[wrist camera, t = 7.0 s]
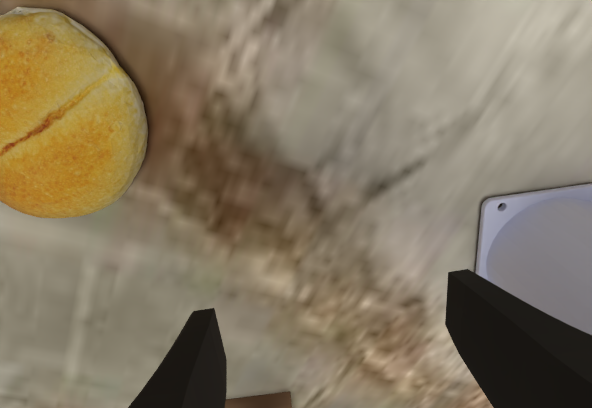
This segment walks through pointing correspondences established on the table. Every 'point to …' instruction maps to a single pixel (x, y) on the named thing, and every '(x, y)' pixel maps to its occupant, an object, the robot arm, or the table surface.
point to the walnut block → (261, 401)
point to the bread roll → (64, 117)
